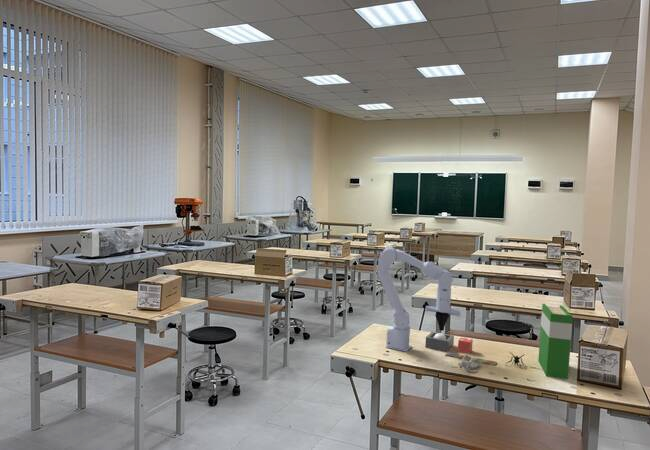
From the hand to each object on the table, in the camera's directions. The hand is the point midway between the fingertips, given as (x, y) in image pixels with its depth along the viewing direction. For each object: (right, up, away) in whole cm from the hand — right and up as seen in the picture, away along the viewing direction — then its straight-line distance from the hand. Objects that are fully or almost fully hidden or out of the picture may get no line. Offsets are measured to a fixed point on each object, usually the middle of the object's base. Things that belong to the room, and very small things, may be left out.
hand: (441, 330), depth 195 cm
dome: (+1, -9, +8) cm, 12 cm away
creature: (+26, -12, -14) cm, 32 cm away
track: (+10, -10, -7) cm, 16 cm away
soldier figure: (+6, -11, -18) cm, 22 cm away
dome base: (+1, -9, +8) cm, 12 cm away
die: (+11, -10, +3) cm, 15 cm away
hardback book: (+40, -12, -15) cm, 44 cm away
